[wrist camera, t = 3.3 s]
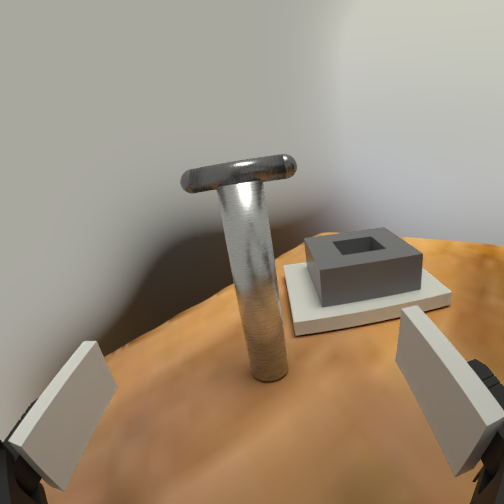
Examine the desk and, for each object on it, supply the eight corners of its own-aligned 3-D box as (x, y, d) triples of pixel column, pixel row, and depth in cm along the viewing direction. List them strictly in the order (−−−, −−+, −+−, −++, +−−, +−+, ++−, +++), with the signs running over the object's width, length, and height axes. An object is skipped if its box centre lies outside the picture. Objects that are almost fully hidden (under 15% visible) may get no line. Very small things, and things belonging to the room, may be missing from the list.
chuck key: (313, 352, 25) (292, 153, 20) (318, 374, 22) (297, 152, 17) (226, 362, 26) (184, 170, 21) (223, 385, 23) (172, 173, 18)
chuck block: (398, 258, 41) (397, 221, 39) (450, 304, 27) (455, 255, 25) (284, 275, 42) (279, 237, 40) (295, 335, 28) (289, 283, 26)
